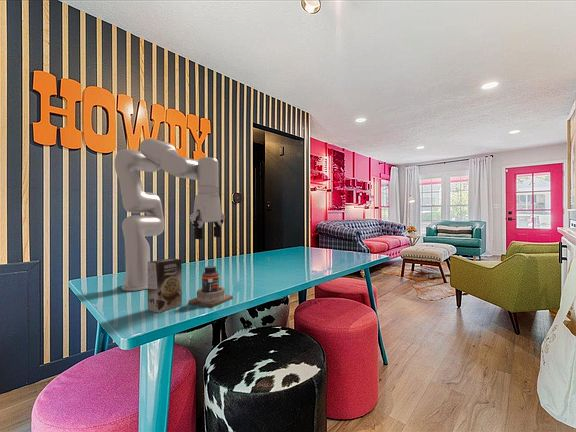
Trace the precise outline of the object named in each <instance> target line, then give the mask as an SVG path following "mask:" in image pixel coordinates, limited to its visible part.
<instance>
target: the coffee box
mask: <svg viewBox="0 0 576 432" xmlns="http://www.w3.org/2000/svg"><path fill="white" fill-rule="evenodd" d="M147 263H148V289H147V310H148V311H151V312H154V313H157V314H159V313H162V312H166V311H168V310H172V309H175V308H178V307H181V306H183V288H182V287H183V281H182V280H183V277H182V275H183V274H182V272H183V271H182V267H183V266H182V259H181V258H165V259H158V260H150V262H147Z"/></svg>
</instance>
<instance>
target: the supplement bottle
mask: <svg viewBox="0 0 576 432" xmlns="http://www.w3.org/2000/svg"><path fill="white" fill-rule="evenodd" d="M219 287H220V275H219V272H218V271H217V266H216V265H210V266H209V265H206V266H205V267H204V272H203V273H202V274H201V288H202V292H204V293H212V292H218V291H219Z"/></svg>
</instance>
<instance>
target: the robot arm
mask: <svg viewBox="0 0 576 432" xmlns="http://www.w3.org/2000/svg"><path fill="white" fill-rule="evenodd" d="M219 167H220V166H219V161H218V159H216V157H215V158H214V157H209V156H208V157H207V156H205V157H200V158H198V159H193V158H190V157H183V156H180V155H179V153H178V151H177V150H176V148H175V146H174V145H173V144H172V143H170V142H167V141H163V140H159V139H155V138H144V139H143V140H142V141H141V142H140V144H139V150H135V149H129V148H126V149H121V150H119V151H117V153H116V154H115V157H114V170H115V173H116V176H117V179H118V182H119V184H120V186H119V187H120V193H121V200H122V207H123V209H124V210H125V212H127V213H131V214H132V213H134V215H129V216H127V217H126V218H124V219H123V220H122V223H121V229H122V234H123V237H124V238H123V239H124V251H125V252H124V253H125V254H124V255H125V256H124V257H125V261H124V262H125V277H124V278H122V282H124V284H123V285H122V286H121V290H122V291H127V292H136V291H143V290H148V263H147V262H150V261H151V247H150V244H149V241H148V240H147V239H146V237H153V236H156V237H157V236H159V235H161V234H162V233H163V232H164V231H165V218H164V212H163V211H164V210H163V205H162V200H161V197H159V195H157V194H156V193H154V192H148V191H144V189H143V188H144V187H143V182H142V180H141V178H140V176H139V175H138V174H137V172H135V171H141V172H146V173H155V172H157V171H160V170H163V171H164V172H166V173H167V174H170V175H172V176H173V177H175V178H180V179H181V178H182V179H187V180H188V179H189V180H195V181H197V188H196V189H197V194H196V195H195V197H194V198H195V199H194V202H193V203H194V205H193V213H191V214H190V215H188V218H189V220H190V223H191V225H192V227H193V228H194V240H203V239H204V238H203V237H204V235H203V225H204V224H205V223H212V224H213V225H214V226H213V237H214V238H222V227H223V224H224V222H225V221H224V220H225V218H226V215H225V214H224V213H222V209H221V208H222V206H221V199H220V195H219V194H220V191H219V190H220V188H219V175H220V174H219ZM135 213H137V214H138V215H137V214H136V215H135ZM140 213H142V214H141V215H140ZM144 214H145V215H144Z"/></svg>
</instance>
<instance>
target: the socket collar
mask: <svg viewBox="0 0 576 432" xmlns="http://www.w3.org/2000/svg"><path fill="white" fill-rule="evenodd" d="M233 298H234V296H233V295H230V294H226V288H225V287H223V286H219V291H218V292H212V293H204V292H202V287H200V288H199V289H197V290H196V297H194V298H190V299H189V300H188V301H187V303H188V304H189V305H197V306H201V307H209V308H214V307H217V306H220V305H221V304H223V303H227V302H228V301H230V300H232V299H233Z"/></svg>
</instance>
